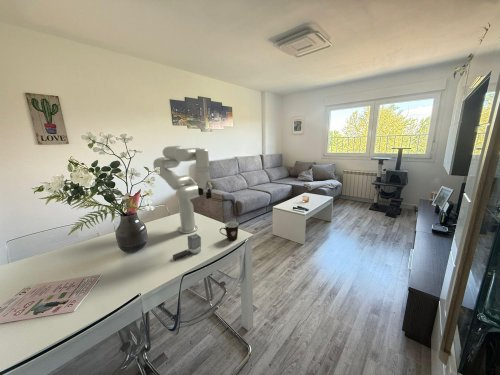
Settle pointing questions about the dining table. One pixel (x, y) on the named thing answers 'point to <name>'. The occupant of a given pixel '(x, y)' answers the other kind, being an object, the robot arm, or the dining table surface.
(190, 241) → the socket
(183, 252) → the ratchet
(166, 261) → the dining table surface
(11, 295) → the dining table surface
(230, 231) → the coffee mug
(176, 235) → the dining table surface
